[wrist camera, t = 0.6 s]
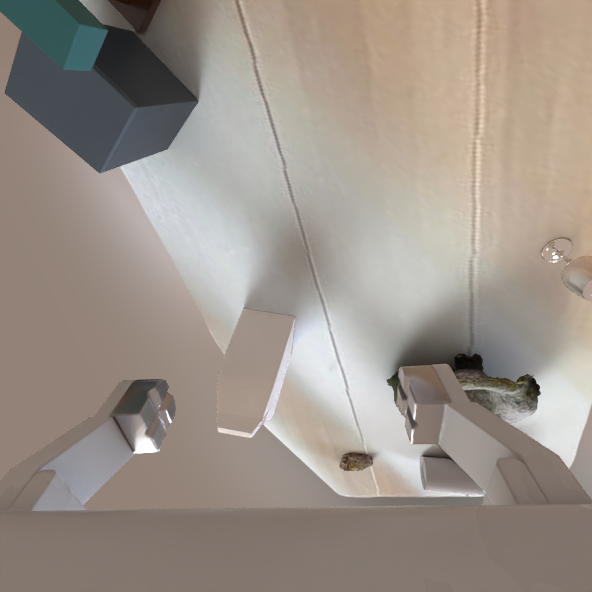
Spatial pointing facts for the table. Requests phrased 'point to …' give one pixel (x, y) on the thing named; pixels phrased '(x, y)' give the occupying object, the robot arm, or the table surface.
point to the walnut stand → (137, 11)
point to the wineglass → (571, 267)
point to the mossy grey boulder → (491, 390)
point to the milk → (253, 371)
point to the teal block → (59, 30)
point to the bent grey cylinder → (446, 477)
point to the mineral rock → (355, 462)
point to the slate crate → (103, 100)
